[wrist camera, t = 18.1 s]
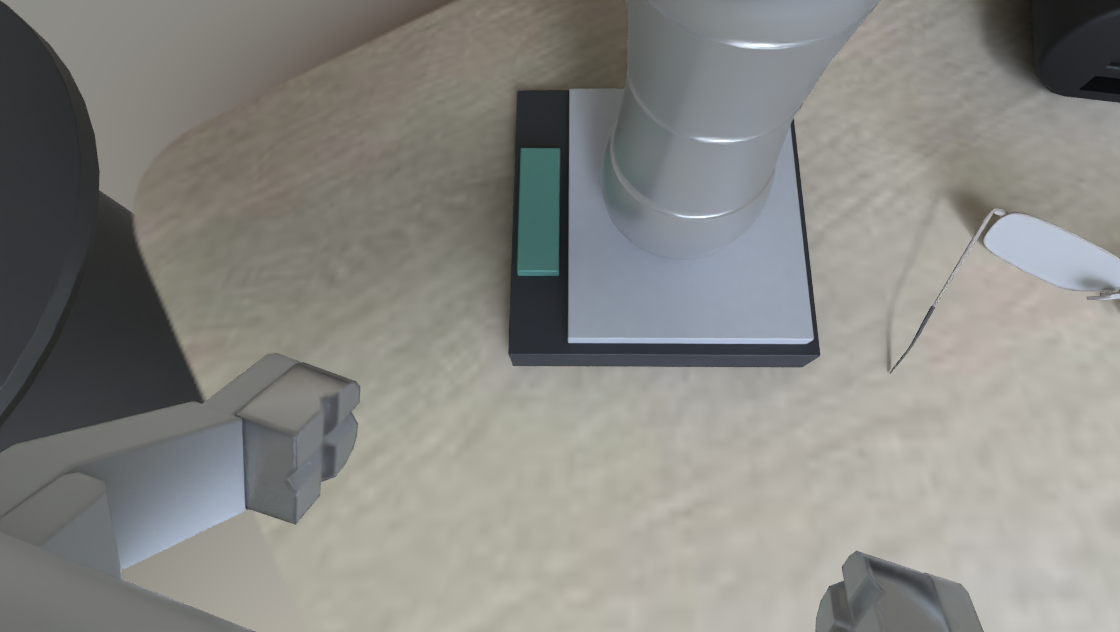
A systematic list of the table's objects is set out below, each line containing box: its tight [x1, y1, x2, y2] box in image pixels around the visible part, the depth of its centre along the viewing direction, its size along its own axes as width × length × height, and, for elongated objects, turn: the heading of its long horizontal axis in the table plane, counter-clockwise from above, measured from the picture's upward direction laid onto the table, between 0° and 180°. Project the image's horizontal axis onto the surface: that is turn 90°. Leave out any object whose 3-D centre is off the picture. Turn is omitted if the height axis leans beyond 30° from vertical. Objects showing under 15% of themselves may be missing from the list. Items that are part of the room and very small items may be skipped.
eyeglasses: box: [890, 208, 1120, 374], centre depth 27 cm, size 14×8×4 cm, turn 56°
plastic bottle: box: [599, 0, 881, 259], centre depth 18 cm, size 6×7×20 cm
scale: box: [508, 89, 820, 367], centre depth 29 cm, size 13×13×3 cm
